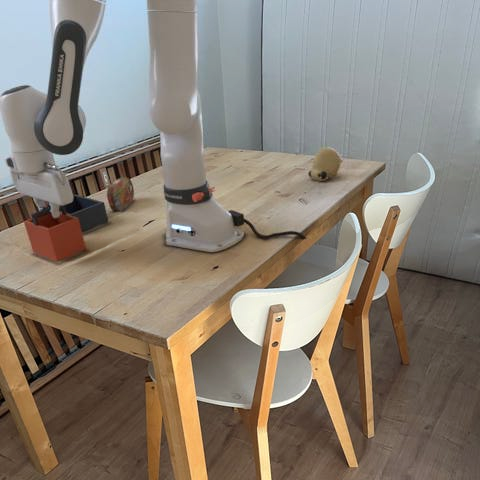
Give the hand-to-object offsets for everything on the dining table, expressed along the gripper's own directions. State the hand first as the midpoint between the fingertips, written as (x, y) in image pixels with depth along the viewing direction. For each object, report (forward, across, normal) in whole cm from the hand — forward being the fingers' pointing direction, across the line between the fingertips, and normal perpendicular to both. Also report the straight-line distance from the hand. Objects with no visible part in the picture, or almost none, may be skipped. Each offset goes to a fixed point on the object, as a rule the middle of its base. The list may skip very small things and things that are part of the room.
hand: (50, 215), depth 125 cm
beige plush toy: (+11, -30, -89) cm, 95 cm away
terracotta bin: (+11, 0, 0) cm, 11 cm away
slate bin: (+11, +12, -14) cm, 22 cm away
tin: (+11, +13, -33) cm, 37 cm away
